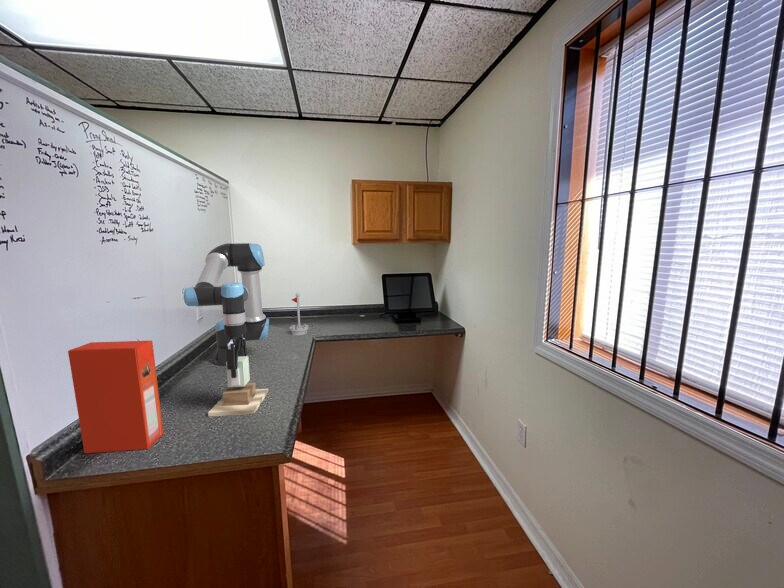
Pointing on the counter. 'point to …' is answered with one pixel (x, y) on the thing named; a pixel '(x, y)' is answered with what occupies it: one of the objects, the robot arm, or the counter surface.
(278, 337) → the counter surface
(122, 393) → the file binder
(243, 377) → the sage pillar
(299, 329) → the flag stand
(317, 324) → the counter surface
